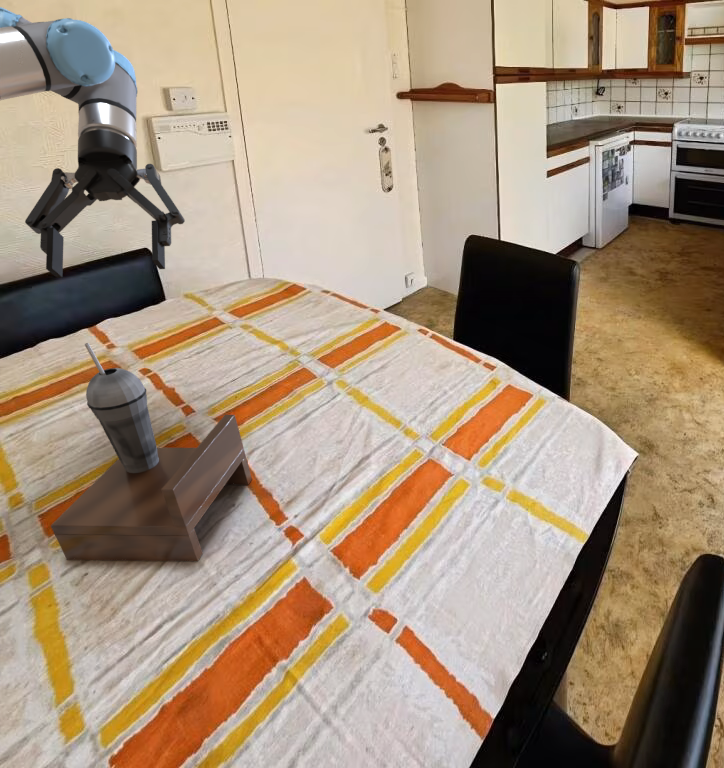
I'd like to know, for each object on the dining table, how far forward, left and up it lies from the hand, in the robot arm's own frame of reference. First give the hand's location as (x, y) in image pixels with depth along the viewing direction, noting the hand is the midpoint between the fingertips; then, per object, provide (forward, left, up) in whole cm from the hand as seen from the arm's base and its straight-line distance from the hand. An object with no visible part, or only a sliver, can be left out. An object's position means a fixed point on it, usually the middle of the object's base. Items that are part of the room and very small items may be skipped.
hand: (107, 269), depth 89 cm
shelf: (+7, -15, -33) cm, 37 cm away
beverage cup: (+3, -10, -27) cm, 29 cm away
